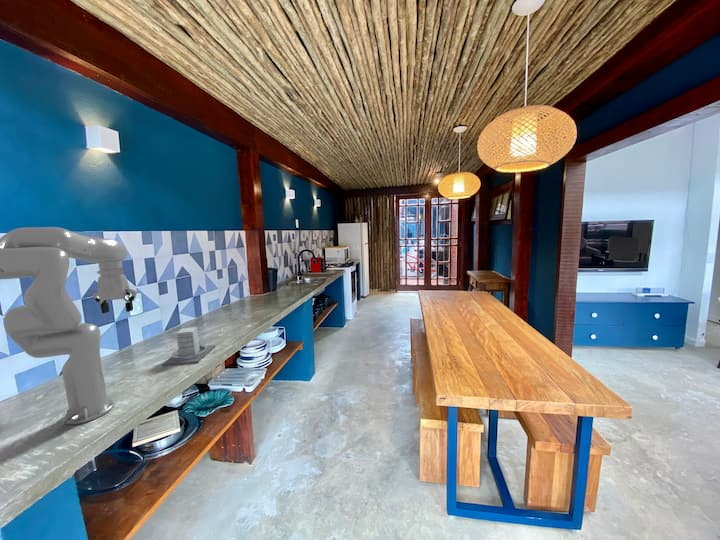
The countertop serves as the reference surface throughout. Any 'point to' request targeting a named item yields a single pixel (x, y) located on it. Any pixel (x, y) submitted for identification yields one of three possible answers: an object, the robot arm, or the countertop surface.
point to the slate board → (191, 361)
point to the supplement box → (188, 341)
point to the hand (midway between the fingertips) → (117, 311)
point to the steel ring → (190, 355)
